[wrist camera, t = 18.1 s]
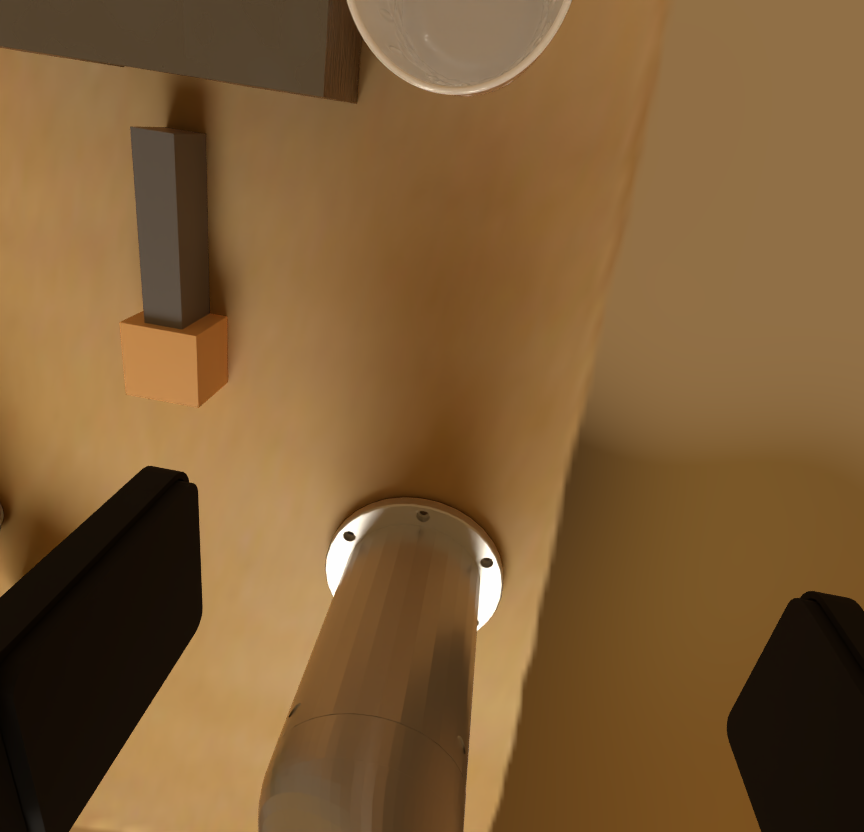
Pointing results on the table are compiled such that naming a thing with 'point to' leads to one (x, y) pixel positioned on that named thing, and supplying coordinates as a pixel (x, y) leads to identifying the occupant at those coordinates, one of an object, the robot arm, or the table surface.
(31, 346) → the table surface
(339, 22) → the grey long block
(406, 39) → the white cup
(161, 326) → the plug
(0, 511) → the energy drink can
